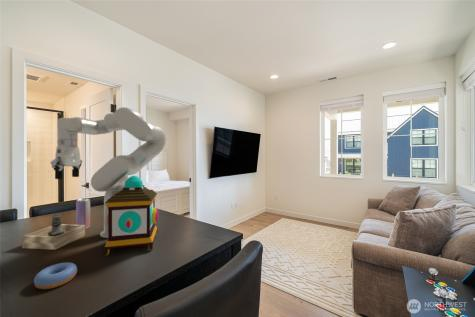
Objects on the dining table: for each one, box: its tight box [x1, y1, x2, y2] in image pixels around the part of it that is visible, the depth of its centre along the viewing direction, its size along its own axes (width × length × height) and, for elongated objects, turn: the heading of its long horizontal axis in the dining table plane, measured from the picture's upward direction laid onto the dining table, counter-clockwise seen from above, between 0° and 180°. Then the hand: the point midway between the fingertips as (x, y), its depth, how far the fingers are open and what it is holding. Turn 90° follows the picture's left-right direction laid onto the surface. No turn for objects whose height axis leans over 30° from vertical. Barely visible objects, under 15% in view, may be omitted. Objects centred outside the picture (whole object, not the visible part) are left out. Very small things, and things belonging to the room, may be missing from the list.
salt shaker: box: [48, 212, 65, 236], centre depth 90 cm, size 6×6×12 cm
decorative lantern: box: [103, 175, 159, 256], centre depth 87 cm, size 20×20×30 cm
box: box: [21, 223, 86, 250], centre depth 90 cm, size 15×15×5 cm
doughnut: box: [33, 262, 78, 290], centre depth 62 cm, size 10×10×5 cm
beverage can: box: [75, 197, 91, 230], centre depth 107 cm, size 6×6×15 cm
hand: (67, 177), depth 100 cm, fingers open, 9 cm apart
